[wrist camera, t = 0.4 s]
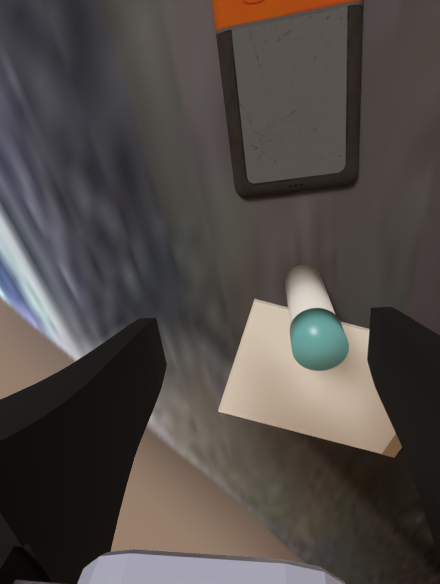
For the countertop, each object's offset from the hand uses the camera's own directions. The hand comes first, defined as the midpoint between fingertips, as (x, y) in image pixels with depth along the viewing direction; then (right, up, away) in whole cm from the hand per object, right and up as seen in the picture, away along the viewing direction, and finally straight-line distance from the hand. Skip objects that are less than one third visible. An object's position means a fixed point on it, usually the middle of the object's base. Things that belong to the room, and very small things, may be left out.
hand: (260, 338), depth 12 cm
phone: (+2, +14, +5) cm, 15 cm away
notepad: (+6, -5, +13) cm, 15 cm away
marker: (+4, +2, +9) cm, 10 cm away
